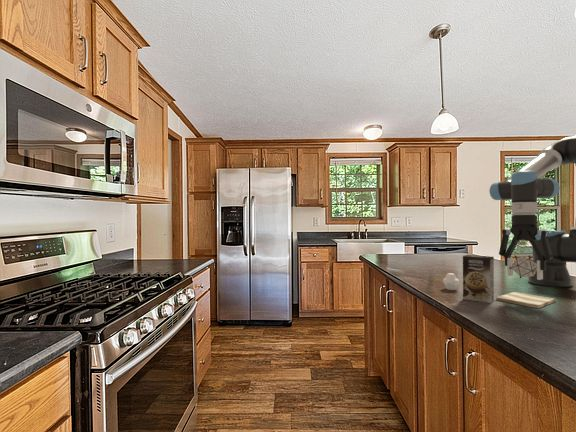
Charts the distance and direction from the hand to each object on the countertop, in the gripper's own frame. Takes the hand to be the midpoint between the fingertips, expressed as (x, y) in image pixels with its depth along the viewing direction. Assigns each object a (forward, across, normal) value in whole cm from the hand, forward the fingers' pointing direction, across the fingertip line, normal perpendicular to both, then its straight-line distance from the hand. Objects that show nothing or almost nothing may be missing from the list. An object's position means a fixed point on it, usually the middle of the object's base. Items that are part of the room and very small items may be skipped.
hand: (524, 277), depth 117 cm
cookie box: (+9, -10, -11) cm, 18 cm away
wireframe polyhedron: (0, 0, 0) cm, 1 cm away
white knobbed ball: (+9, -25, -4) cm, 27 cm away
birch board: (+9, 0, 0) cm, 9 cm away
